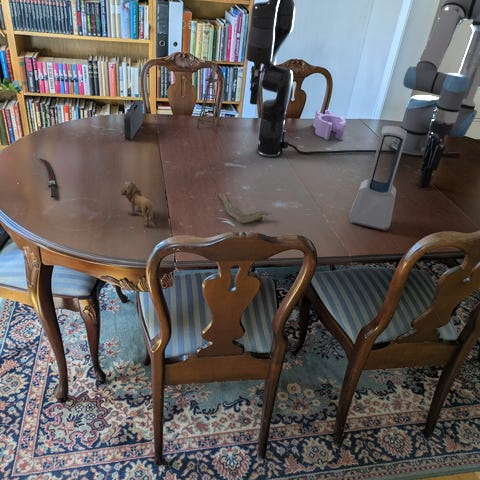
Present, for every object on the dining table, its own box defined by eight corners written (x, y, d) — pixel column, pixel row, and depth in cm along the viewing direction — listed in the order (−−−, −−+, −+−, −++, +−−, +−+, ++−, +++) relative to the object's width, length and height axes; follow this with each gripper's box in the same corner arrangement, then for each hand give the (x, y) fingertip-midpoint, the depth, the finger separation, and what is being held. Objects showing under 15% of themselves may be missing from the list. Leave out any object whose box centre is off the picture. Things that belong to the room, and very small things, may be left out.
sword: (61, 197, 141) (61, 193, 140) (50, 198, 139) (50, 194, 139) (49, 160, 164) (48, 156, 163) (39, 160, 163) (39, 157, 162)
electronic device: (389, 222, 147) (418, 130, 131) (388, 233, 141) (417, 138, 125) (350, 212, 150) (373, 122, 134) (347, 223, 144) (370, 129, 127)
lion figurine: (118, 210, 138) (116, 182, 133) (132, 204, 141) (131, 177, 137) (151, 229, 130) (150, 201, 126) (165, 223, 134) (165, 195, 129)
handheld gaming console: (136, 121, 202) (136, 98, 197) (143, 121, 202) (142, 98, 197) (123, 140, 183) (122, 115, 178) (130, 141, 183) (130, 116, 178)
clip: (307, 123, 221) (309, 109, 217) (331, 124, 223) (334, 110, 219) (321, 139, 204) (324, 124, 201) (347, 140, 207) (350, 125, 203)
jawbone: (251, 231, 136) (251, 225, 134) (200, 206, 146) (200, 200, 145) (270, 218, 141) (270, 213, 140) (219, 195, 152) (219, 189, 150)
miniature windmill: (214, 131, 201) (219, 58, 184) (195, 128, 202) (199, 55, 185) (219, 124, 208) (224, 54, 192) (201, 122, 209) (205, 51, 193)
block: (415, 180, 175) (418, 169, 173) (427, 181, 175) (430, 171, 172) (417, 184, 171) (421, 174, 169) (429, 186, 171) (433, 176, 169)
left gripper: (250, 38, 140) (244, 92, 149) (245, 46, 128) (239, 105, 137) (274, 41, 140) (268, 95, 149) (272, 50, 128) (265, 108, 137)
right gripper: (426, 112, 168) (407, 172, 180) (438, 127, 153) (417, 191, 166) (447, 115, 168) (427, 174, 180) (461, 130, 153) (438, 194, 165)
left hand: (254, 100), depth 143 cm, fingers open, 8 cm apart
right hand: (422, 182), depth 173 cm, fingers closed on block, 4 cm apart
